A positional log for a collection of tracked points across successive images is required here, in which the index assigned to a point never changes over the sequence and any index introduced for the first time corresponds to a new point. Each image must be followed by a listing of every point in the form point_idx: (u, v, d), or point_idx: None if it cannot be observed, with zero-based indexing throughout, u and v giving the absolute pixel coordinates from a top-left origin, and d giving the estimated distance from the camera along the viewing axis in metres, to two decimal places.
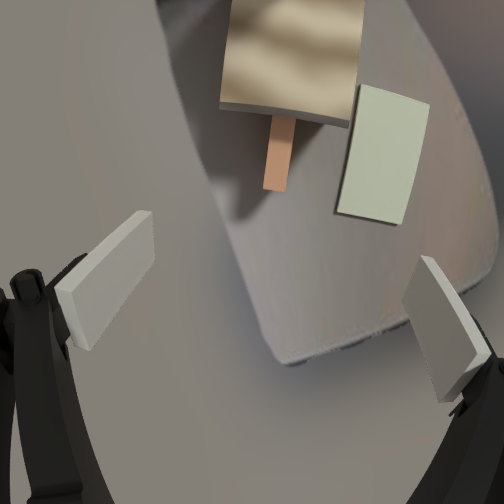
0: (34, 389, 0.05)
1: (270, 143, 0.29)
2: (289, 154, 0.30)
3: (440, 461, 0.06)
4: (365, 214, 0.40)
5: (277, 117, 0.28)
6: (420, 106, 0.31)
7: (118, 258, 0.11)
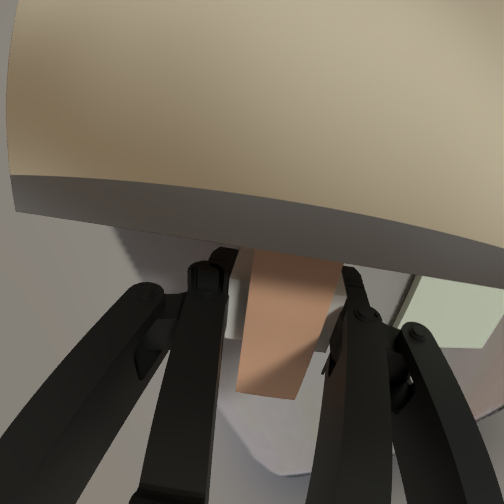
0: (187, 387, 0.06)
1: (254, 295, 0.09)
2: (318, 327, 0.09)
3: (324, 432, 0.07)
4: None
5: None
6: None
7: None
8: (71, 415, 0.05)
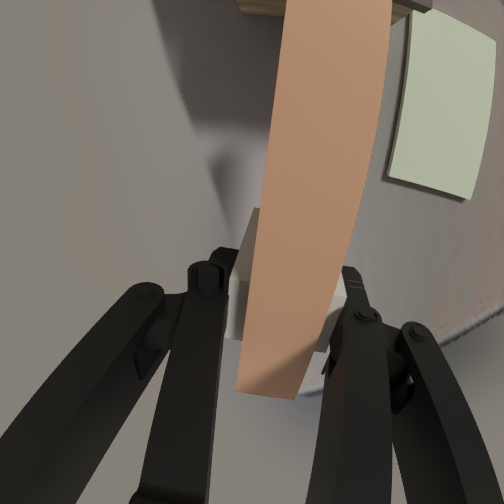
0: (187, 387, 0.06)
1: (254, 295, 0.09)
2: (318, 327, 0.09)
3: (324, 432, 0.07)
4: (427, 182, 0.24)
5: (282, 204, 0.07)
6: (486, 41, 0.16)
7: None
8: (71, 415, 0.05)
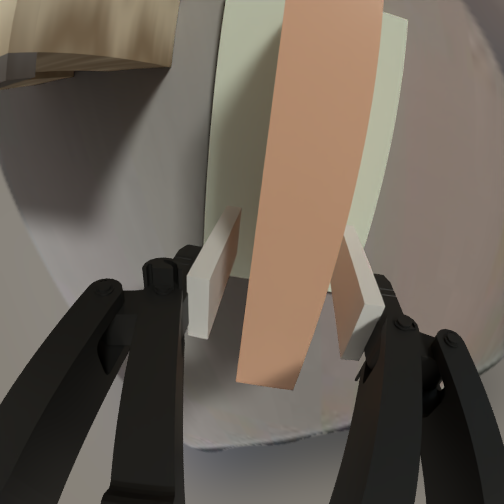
0: (148, 383, 0.06)
1: (254, 285, 0.09)
2: (315, 317, 0.09)
3: (355, 435, 0.07)
4: None
5: (280, 198, 0.08)
6: (384, 21, 0.11)
7: (227, 249, 0.12)
8: (42, 409, 0.05)
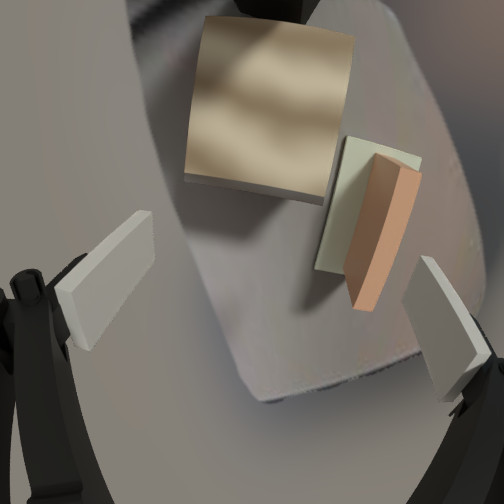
0: (34, 389, 0.05)
1: (369, 270, 0.29)
2: (384, 280, 0.29)
3: (440, 461, 0.06)
4: None
5: (381, 246, 0.28)
6: (411, 159, 0.32)
7: (118, 258, 0.11)
8: None
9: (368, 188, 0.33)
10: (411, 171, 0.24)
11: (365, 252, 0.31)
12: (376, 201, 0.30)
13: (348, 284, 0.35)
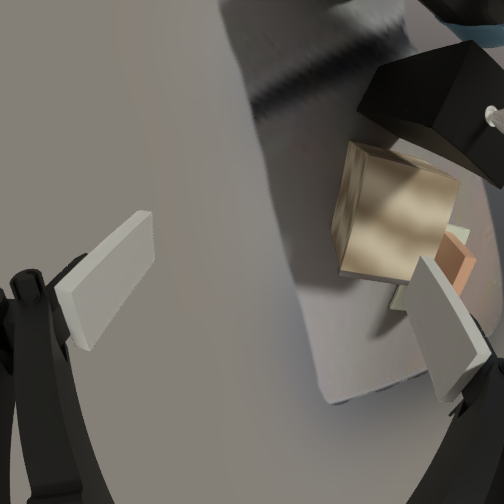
0: (34, 389, 0.05)
1: None
2: None
3: (440, 461, 0.06)
4: None
5: None
6: (463, 232, 0.41)
7: (118, 258, 0.11)
8: None
9: None
10: (470, 258, 0.34)
11: None
12: (442, 270, 0.40)
13: None
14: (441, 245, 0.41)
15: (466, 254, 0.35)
